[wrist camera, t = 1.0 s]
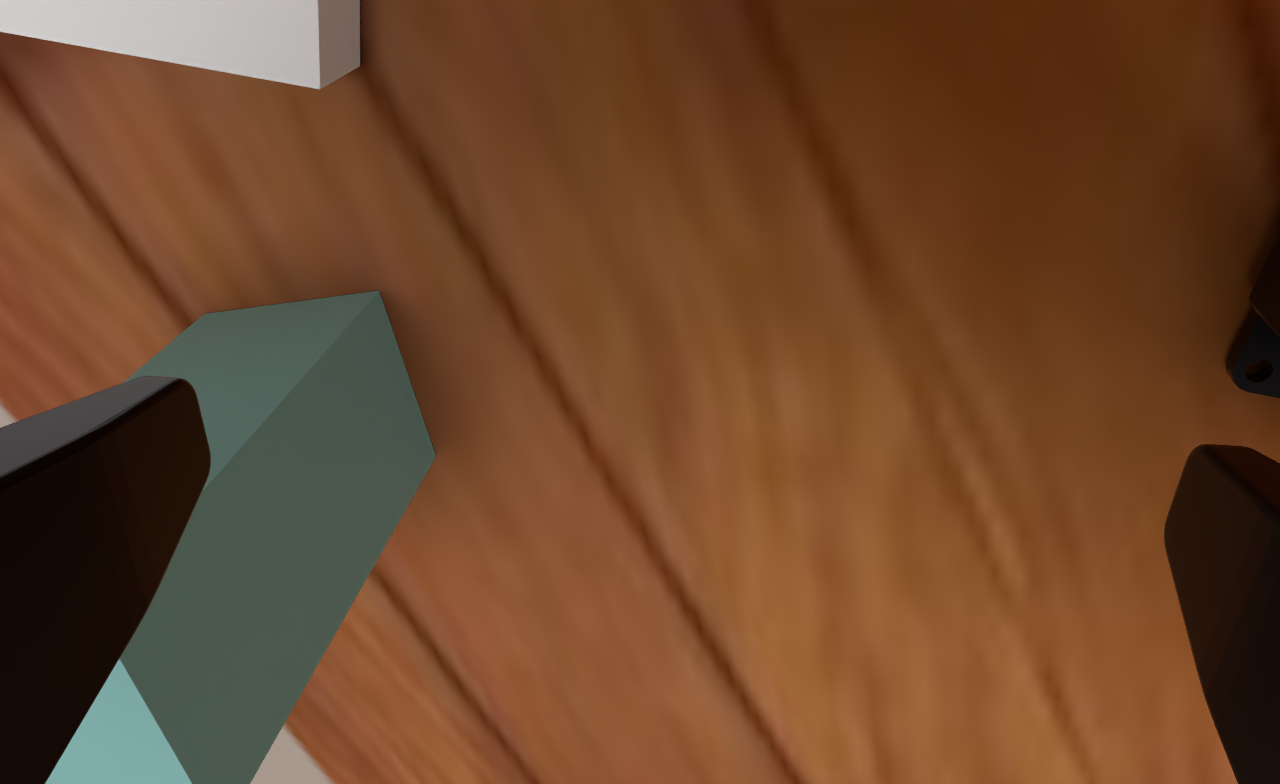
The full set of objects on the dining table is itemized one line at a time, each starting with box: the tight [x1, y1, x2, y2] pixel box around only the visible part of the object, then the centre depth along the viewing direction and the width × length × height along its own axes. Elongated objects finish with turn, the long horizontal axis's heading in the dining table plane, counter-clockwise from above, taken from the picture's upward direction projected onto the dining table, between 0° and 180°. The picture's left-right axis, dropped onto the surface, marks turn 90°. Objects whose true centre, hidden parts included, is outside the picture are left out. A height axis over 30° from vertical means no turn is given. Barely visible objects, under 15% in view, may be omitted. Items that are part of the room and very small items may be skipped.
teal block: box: [45, 291, 436, 784], centre depth 20 cm, size 5×5×11 cm
